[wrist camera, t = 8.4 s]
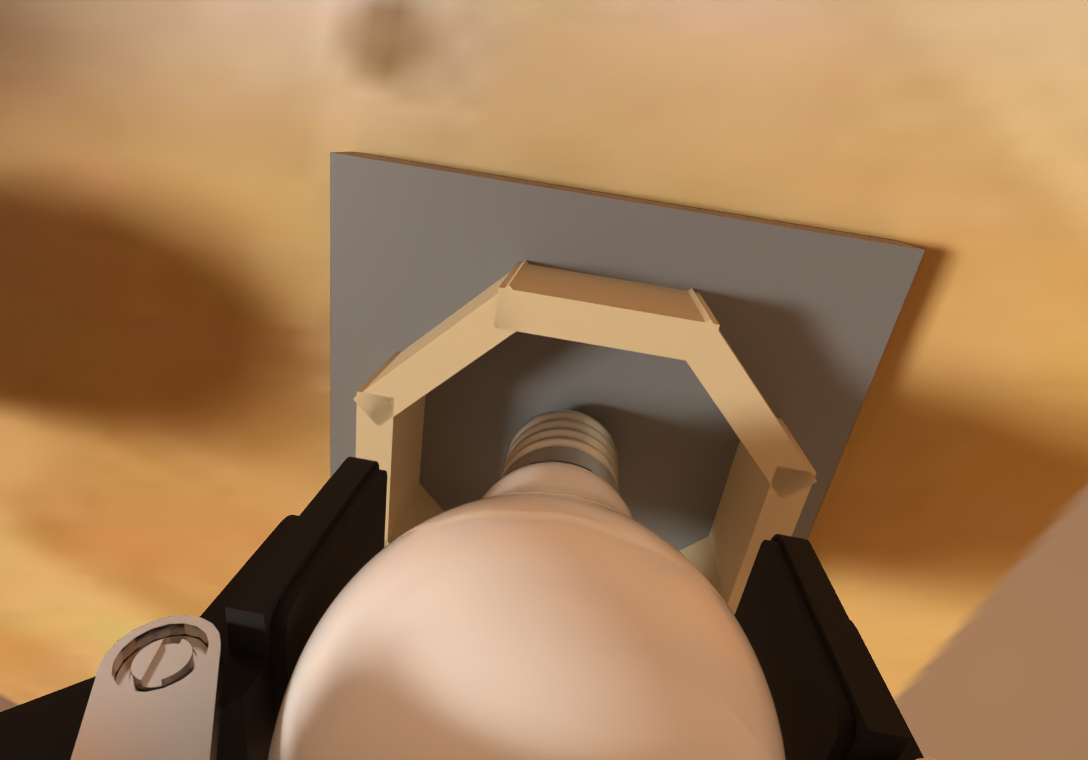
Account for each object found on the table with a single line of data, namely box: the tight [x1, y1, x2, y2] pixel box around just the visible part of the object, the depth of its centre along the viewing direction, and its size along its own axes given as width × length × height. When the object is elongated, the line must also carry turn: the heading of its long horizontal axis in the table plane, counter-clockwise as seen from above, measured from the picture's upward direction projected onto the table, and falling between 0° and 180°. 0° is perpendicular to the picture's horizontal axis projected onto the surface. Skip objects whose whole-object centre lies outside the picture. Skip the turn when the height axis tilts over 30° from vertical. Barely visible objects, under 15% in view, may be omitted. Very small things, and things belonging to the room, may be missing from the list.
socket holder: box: [330, 152, 925, 615], centre depth 14 cm, size 13×13×4 cm
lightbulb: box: [268, 409, 786, 760], centre depth 10 cm, size 6×6×11 cm
